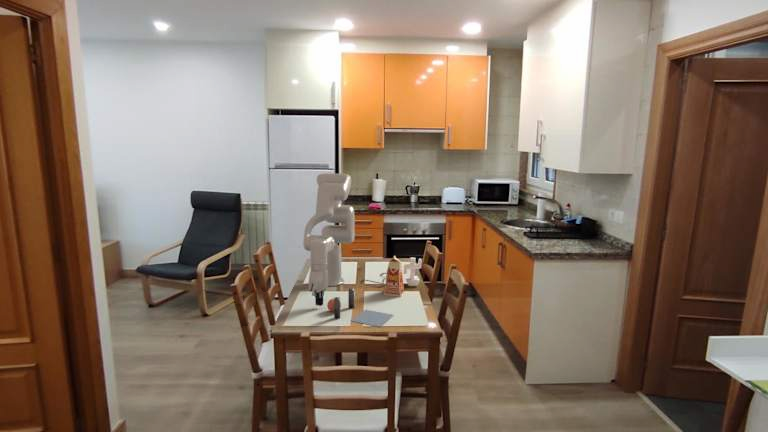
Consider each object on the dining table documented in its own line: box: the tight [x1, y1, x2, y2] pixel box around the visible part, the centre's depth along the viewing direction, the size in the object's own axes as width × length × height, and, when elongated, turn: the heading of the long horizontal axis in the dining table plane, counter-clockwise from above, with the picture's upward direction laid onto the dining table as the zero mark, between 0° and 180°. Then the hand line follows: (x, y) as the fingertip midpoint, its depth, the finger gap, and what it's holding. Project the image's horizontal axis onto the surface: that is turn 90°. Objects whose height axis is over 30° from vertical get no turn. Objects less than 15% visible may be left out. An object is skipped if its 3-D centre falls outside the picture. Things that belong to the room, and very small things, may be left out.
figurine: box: [403, 257, 423, 287], centre depth 238 cm, size 7×9×15 cm
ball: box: [327, 298, 342, 313], centre depth 201 cm, size 6×6×6 cm
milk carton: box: [383, 255, 405, 297], centre depth 225 cm, size 9×9×20 cm
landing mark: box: [350, 309, 394, 328], centre depth 195 cm, size 14×14×1 cm
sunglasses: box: [360, 272, 387, 287], centre depth 245 cm, size 17×15×5 cm
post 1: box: [333, 297, 341, 320], centre depth 193 cm, size 3×3×9 cm
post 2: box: [347, 287, 355, 310], centre depth 205 cm, size 3×3×9 cm
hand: (319, 304), depth 205 cm, fingers closed
